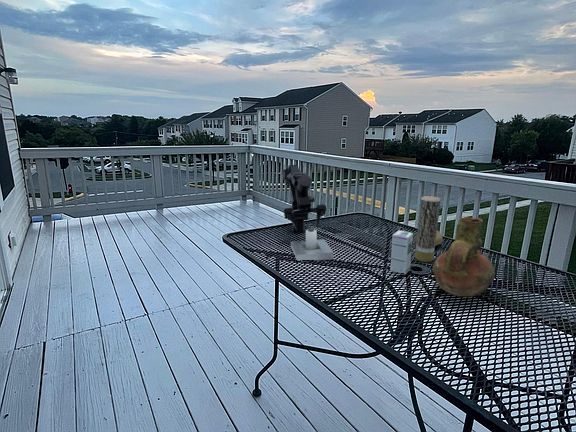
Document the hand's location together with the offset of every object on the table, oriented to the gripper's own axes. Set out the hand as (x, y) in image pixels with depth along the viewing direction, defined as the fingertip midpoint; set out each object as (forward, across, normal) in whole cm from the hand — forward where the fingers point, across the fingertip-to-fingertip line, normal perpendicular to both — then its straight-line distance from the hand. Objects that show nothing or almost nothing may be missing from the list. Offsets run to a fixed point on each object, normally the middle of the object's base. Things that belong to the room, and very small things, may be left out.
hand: (307, 228), depth 141 cm
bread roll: (+12, +52, +5) cm, 54 cm away
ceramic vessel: (+37, +45, -24) cm, 63 cm away
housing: (+11, 0, 0) cm, 11 cm away
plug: (+11, 0, 0) cm, 11 cm away
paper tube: (+21, +44, -5) cm, 49 cm away
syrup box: (+26, +31, -12) cm, 42 cm away
